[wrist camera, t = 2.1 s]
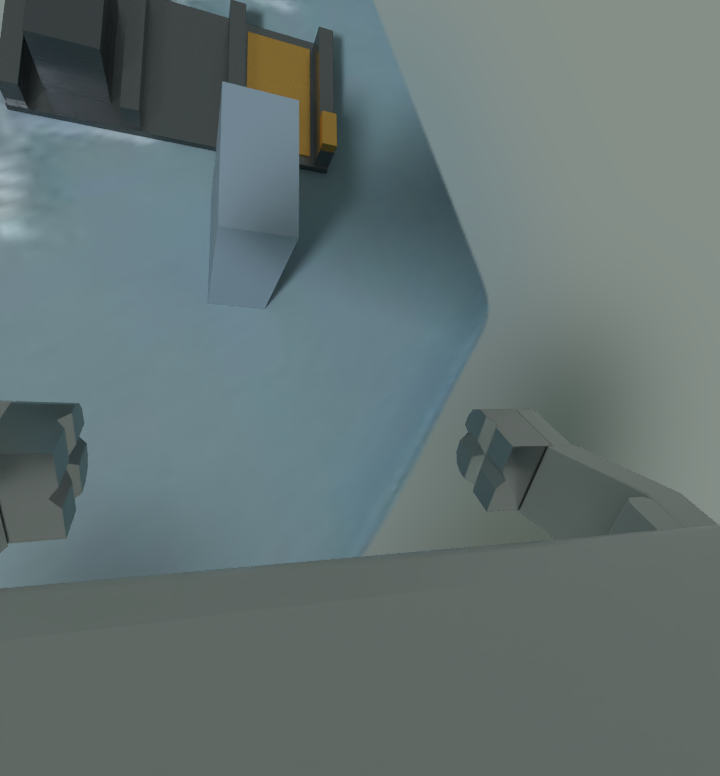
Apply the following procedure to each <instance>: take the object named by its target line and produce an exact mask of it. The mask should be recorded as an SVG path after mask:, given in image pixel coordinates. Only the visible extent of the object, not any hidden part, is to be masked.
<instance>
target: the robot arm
mask: <svg viewBox="0 0 720 776" xmlns="http://www.w3.org/2000/svg"><path fill="white" fill-rule="evenodd" d="M465 425H466V428H467V430H468V433H467V434H466V435H465V436H464V437H463V438H462V439H461V440H460V442H459V445H458V449H457V465H458V468H459V471H460V473H461V474H462V476H463V477H464V479H466V480H467V481H469V482H471V483H473V484H474V489H473V492H474V494H475V495H476V496H477V498H478V499H479V501H480V503H481V504H482V505H483V507H484V508H485V510H486V511H487V512H493V511H519V513H520V514H522V515H523V516H525V517H526V518H527V519H529V520H530V521H531V522H533V523H534V524H535V525H537V526H538V527H539V528H541V529H542V530H543V531H545V532H546V533H547V534H549V535H550V536H551V537H553V538H554V540H542V541H532V542H521V543H509V544H499V545H486V546H475V547H464V548H453V549H442V550H430V551H419V552H409V553H397V554H386V555H375V556H363V557H352V558H341V559H330V560H318V561H307V562H296V563H284V564H273V565H262V566H251V567H239V568H228V569H217V570H206V571H194V572H183V573H172V574H161V575H149V576H138V577H127V578H116V579H104V580H93V581H82V582H71V583H59V584H48V585H37V586H25V587H14V588H3V589H0V776H720V525H718V524H717V523H716V522H714V521H713V520H712V519H711V518H710V517H708V516H707V515H706V514H705V513H704V512H702V511H701V510H700V509H699V508H698V507H696V506H695V505H694V504H693V503H692V502H690V501H689V500H688V499H687V498H686V497H684V496H683V495H682V494H680V493H678V492H676V491H674V490H672V489H670V488H668V487H665V486H663V485H661V484H659V483H657V482H655V481H653V480H650V479H648V478H646V477H644V476H642V475H639V474H637V473H635V472H633V471H631V470H629V469H626V468H624V467H622V466H620V465H618V464H616V463H613V462H611V461H609V460H607V459H604V458H603V457H600V456H598V455H596V454H594V453H591V452H589V451H587V450H585V449H583V448H581V447H579V446H572V445H571V444H570V443H568V442H567V441H566V440H565V439H564V438H563V437H562V436H561V435H560V434H559V433H558V432H557V431H555V429H554V428H553V427H551V426H550V425H549V424H548V423H547V422H546V421H545V420H544V419H543V418H542V417H541V416H540V415H538V413H536V411H534V410H532V409H529V408H524V409H478V410H477V409H476V410H472V412H471V413H470V414H469V416H468V418H467V421H466V424H465ZM83 426H84V418H83V412H82V407H81V406H80V404H79V403H58V402H26V401H16V402H14V401H0V552H1V551H3V550H4V549H5V548H6V547H7V546H8V545H7V544H8V543H19V542H31V541H42V540H54V539H65V538H67V535H68V532H69V529H70V526H71V523H72V521H73V518H74V515H75V512H76V506H75V499H74V498H76V497H77V496H78V495H80V494H81V493H82V491H83V488H84V485H85V482H86V475H87V468H88V452H87V443H86V442H84V441H83V440H82V439H81V438H80V437H79V436H80V433H81V431H82V428H83Z"/></svg>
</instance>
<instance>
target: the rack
mask: <svg viewBox="0 0 720 776" xmlns="http://www.w3.org/2000/svg"><path fill="white" fill-rule="evenodd" d="M222 81H223V82H227V83H231V84H235V85H239V86H243V87H247V88H252V89H256V90H260V91H264V92H268V93H272V94H276V95H280V96H284V97H288V98H292V99H296V100H299V168H303V169H308V170H313V171H318V172H323V173H327V171H328V166H329V164H330V161H331V159H332V157H333V155H334V152H335V149H336V147H337V114H335V113H334V86H333V31H331V30H328V29H325V28H322V27H319V29H318V32H317V35H316V39H315V42H314V43H310V42H307V41H303V40H300V39H297V38H293V37H290V36H286V35H283V34H280V33H276V32H273V31H269V30H266V29H263V28H259V27H256V26H253V25H249V24H246V4H244V3H241V2H237V1H234V0H231V2H230V12H229V18H225V17H222V16H219V15H215V14H212V13H208V12H205V11H202V10H198V9H195V8H192V7H188V6H185V5H181V4H178V3H175V2H171V1H168V0H5V6H4V14H3V22H2V30H1V38H0V90H1V92H2V94H3V96H4V98H5V101H6V106H7V109H9V110H14V111H19V112H24V113H29V114H34V115H39V116H44V117H49V118H54V119H59V120H64V121H69V122H73V123H78V124H83V125H88V126H93V127H98V128H103V129H108V130H113V131H118V132H123V133H128V134H133V135H138V136H143V137H148V138H153V139H158V140H163V141H168V142H173V143H178V144H183V145H188V146H193V147H198V148H203V149H208V150H213V151H216V145H217V134H218V123H219V113H220V102H221V91H222Z"/></svg>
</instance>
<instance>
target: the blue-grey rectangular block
mask: <svg viewBox="0 0 720 776" xmlns="http://www.w3.org/2000/svg"><path fill="white" fill-rule="evenodd" d="M298 239H299V100H296V99H292V98H288V97H284V96H280V95H276V94H272V93H268V92H264V91H260V90H256V89H252V88H247V87H243V86H239V85H235V84H231V83H227V82H223V81H222V91H221V102H220V113H219V123H218V134H217V145H216V155H215V166H214V176H213V187H212V198H211V223H210V251H209V280H208V304H215V305H226V306H236V307H247V308H258V309H265V307H266V305H267V303H268V301H269V299H270V297H271V295H272V293H273V291H274V289H275V287H276V284H277V282H278V280H279V278H280V276H281V274H282V272H283V270H284V268H285V266H286V264H287V262H288V260H289V258H290V255H291V253H292V251H293V249H294V247H295V245H296V243H297V241H298Z"/></svg>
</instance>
